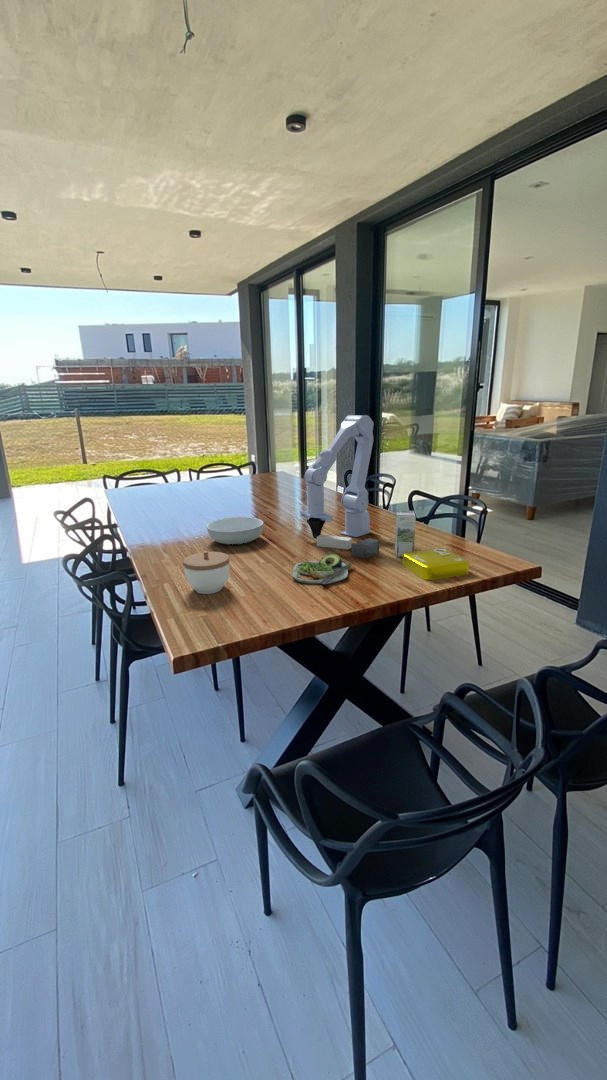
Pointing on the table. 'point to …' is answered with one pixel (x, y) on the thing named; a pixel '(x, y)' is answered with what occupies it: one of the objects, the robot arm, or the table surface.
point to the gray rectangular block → (334, 542)
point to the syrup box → (404, 532)
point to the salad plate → (322, 570)
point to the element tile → (435, 564)
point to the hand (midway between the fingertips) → (316, 537)
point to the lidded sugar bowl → (207, 571)
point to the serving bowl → (235, 530)
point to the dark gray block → (365, 548)
